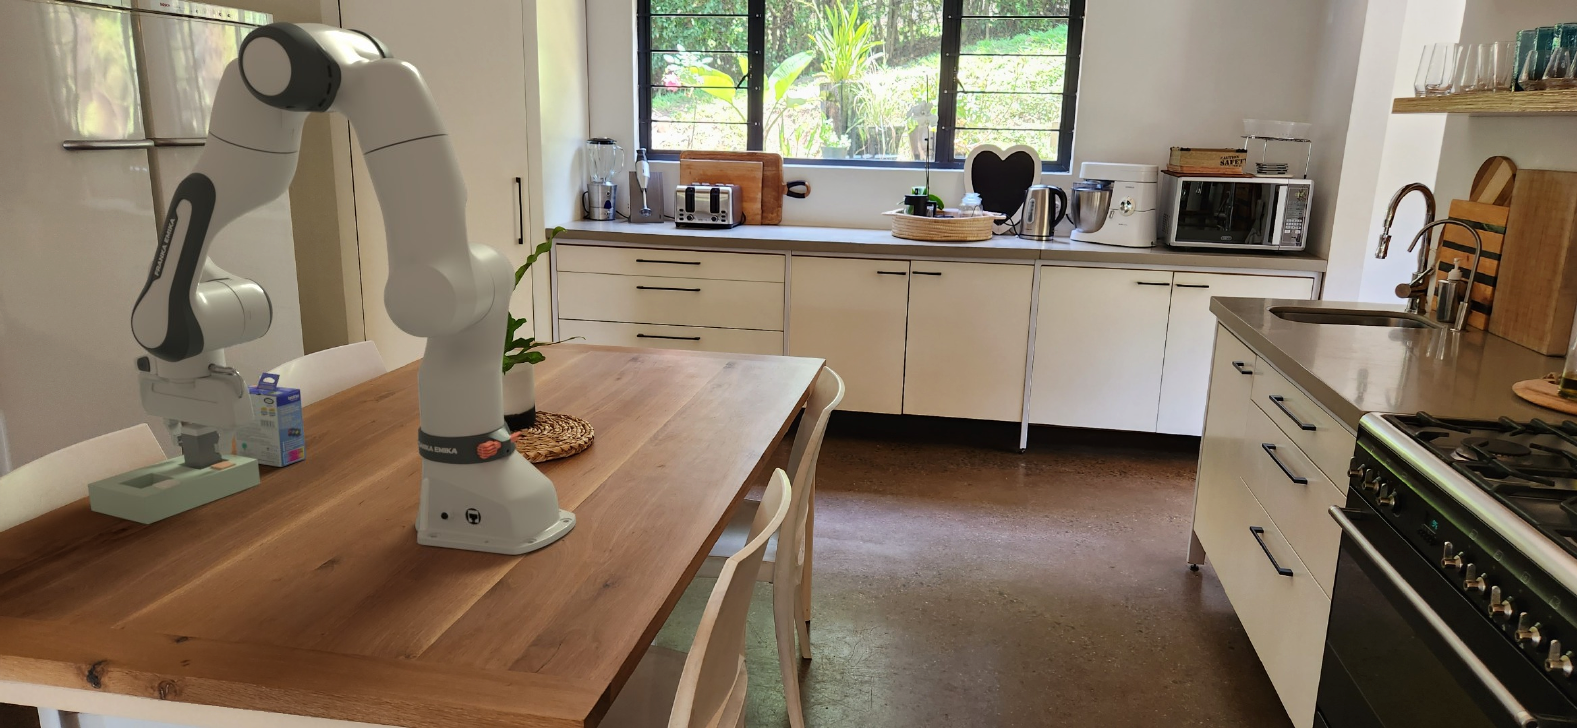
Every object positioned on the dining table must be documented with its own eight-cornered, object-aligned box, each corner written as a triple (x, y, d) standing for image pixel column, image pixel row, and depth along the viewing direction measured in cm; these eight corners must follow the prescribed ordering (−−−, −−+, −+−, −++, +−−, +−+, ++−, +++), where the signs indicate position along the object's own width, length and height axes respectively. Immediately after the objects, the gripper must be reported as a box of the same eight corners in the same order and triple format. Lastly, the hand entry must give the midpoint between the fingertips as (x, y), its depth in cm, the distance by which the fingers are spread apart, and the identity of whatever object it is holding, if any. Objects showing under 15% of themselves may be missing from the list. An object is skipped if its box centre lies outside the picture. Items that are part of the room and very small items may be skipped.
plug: (225, 485, 153) (217, 423, 151) (204, 492, 150) (196, 429, 148) (209, 482, 155) (201, 420, 152) (188, 489, 152) (180, 426, 149)
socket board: (260, 483, 154) (257, 457, 153) (147, 524, 138) (143, 495, 137) (206, 472, 159) (203, 446, 158) (91, 510, 143) (87, 482, 142)
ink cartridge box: (309, 458, 167) (300, 374, 163) (283, 468, 161) (274, 382, 158) (262, 451, 170) (253, 369, 166) (235, 461, 164) (226, 376, 161)
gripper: (259, 364, 147) (269, 452, 150) (165, 350, 155) (176, 435, 158) (220, 373, 141) (231, 465, 144) (125, 358, 149) (137, 446, 152)
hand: (202, 449), depth 151 cm, fingers open, 8 cm apart
